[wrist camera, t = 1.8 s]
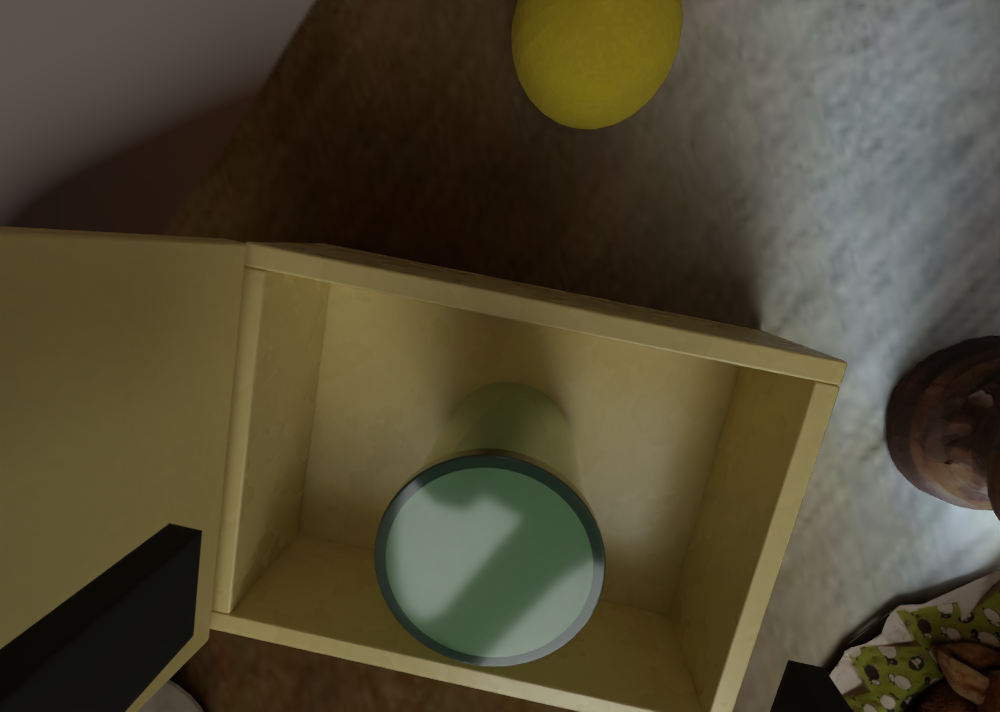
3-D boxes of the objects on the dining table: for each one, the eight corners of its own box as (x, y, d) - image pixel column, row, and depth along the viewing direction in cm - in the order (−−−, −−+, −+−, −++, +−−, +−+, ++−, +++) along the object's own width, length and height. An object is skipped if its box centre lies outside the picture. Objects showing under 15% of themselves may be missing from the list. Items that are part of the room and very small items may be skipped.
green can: (563, 527, 25) (577, 689, 16) (424, 497, 25) (358, 640, 16) (596, 392, 24) (631, 483, 15) (449, 362, 24) (391, 432, 15)
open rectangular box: (762, 330, 24) (849, 362, 17) (676, 620, 27) (722, 744, 20) (325, 243, 24) (243, 241, 18) (288, 536, 27) (207, 628, 21)
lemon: (536, 163, 23) (534, 119, 15) (501, 25, 22) (480, -97, 14) (666, 124, 22) (735, 57, 15) (636, -20, 21) (691, -174, 14)
